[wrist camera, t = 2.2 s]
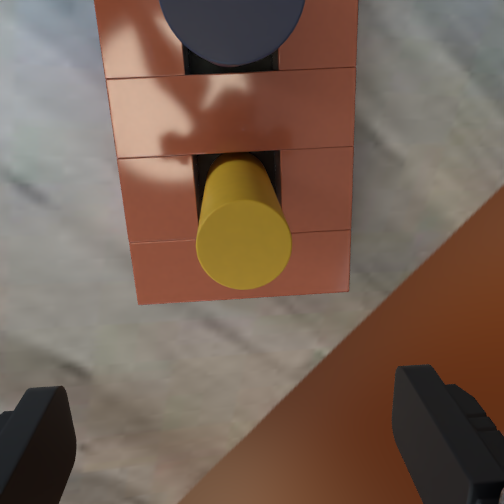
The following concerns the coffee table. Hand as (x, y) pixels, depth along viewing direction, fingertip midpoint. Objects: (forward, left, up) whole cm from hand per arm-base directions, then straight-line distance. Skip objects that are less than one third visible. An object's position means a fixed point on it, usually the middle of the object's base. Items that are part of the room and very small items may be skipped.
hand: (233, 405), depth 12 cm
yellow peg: (0, +1, -23) cm, 23 cm away
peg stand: (-5, +1, -23) cm, 23 cm away
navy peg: (-10, +1, -23) cm, 25 cm away
